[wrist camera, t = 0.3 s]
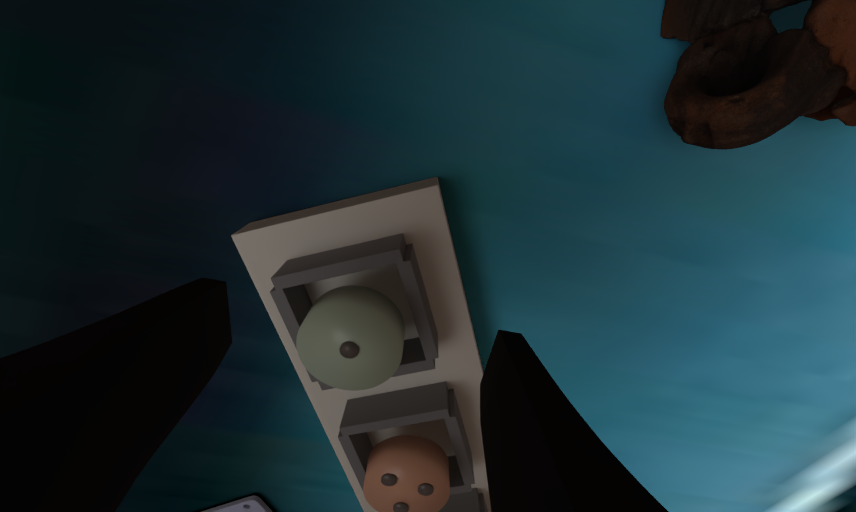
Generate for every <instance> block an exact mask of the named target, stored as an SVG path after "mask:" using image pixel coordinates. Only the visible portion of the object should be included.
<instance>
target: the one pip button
mask: <svg viewBox="0 0 856 512" xmlns="http://www.w3.org/2000/svg"><path fill="white" fill-rule="evenodd" d="M404 337H405V324H404V320H403V317H402V314H401V312H400V311H399V309H398V308H397V306H396V305H395V304H394V303H393V302H392V301H391V300H390V299H389V298H388V297H387V296H385V295H384V294H382V293H380V292H378V291H376V290H374V289H371V288H368V287H364V286H356V285H349V286H341V287H337V288H334V289H332V290H329V291H327V292H326V293H324V294H323V295H321V296H320V297H319V298H318V299H317V300H316V301H315V303H314V304H313V306H312V307H311V309H310V311H309V312H308V314H307V316H306V317H305V319H304V321H303V323H302V324H301V326H300V328H299V330H298V334H297V339H296V347H297V352H298V355H299V358H300V360H301V362H302V364H303V365H304V367H305V368H306V369H307V370H308V372H309V373H310V374H311V375H313V376H314V377H315V378H316V379H318V380H319V381H321V382H323V383H325V384H327V385H329V386H331V387H334V388H338V389H343V390H351V391H357V390H366V389H370V388H373V387H376V386H378V385H380V384H382V383H384V382H385V381H387V380H388V379H389V378H390V377H392V376H393V374H394V373H395V372H396V371H397V369H398V367H399V365H400V363H401V359H402V354H403V345H404Z"/></svg>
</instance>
